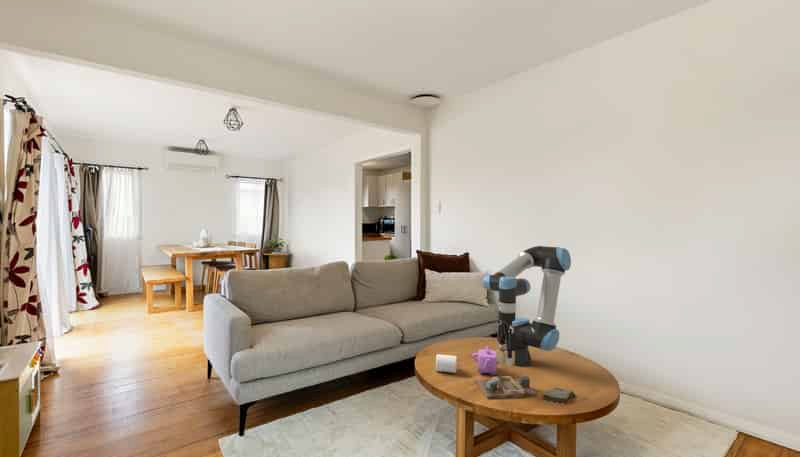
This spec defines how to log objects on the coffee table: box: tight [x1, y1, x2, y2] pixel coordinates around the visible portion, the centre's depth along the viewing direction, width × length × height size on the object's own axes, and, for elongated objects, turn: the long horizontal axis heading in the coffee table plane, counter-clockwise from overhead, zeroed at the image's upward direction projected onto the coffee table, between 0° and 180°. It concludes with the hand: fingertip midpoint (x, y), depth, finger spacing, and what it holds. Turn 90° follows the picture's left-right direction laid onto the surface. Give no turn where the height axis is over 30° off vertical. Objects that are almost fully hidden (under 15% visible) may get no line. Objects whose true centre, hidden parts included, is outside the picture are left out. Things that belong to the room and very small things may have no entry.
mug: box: [435, 353, 458, 374], centre depth 185 cm, size 12×10×8 cm
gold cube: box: [496, 346, 515, 366], centre depth 165 cm, size 6×6×6 cm
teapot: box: [471, 345, 500, 376], centre depth 184 cm, size 15×13×11 cm
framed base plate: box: [474, 375, 538, 400], centre depth 165 cm, size 23×15×3 cm, turn 99°
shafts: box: [486, 375, 531, 392], centre depth 164 cm, size 22×6×4 cm, turn 99°
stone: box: [542, 386, 576, 404], centre depth 159 cm, size 15×8×3 cm, turn 130°
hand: (505, 361), depth 166 cm, fingers closed on gold cube, 6 cm apart
